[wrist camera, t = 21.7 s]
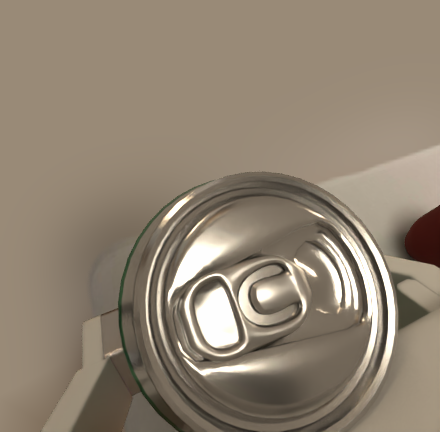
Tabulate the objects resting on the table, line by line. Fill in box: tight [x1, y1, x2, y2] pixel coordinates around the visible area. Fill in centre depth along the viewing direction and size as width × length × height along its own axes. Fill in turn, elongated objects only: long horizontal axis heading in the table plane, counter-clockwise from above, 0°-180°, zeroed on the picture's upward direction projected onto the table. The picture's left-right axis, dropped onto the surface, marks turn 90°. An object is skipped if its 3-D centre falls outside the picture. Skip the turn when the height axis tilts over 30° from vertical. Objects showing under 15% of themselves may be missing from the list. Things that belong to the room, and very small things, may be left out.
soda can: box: [118, 172, 398, 432], centre depth 10 cm, size 5×5×12 cm
